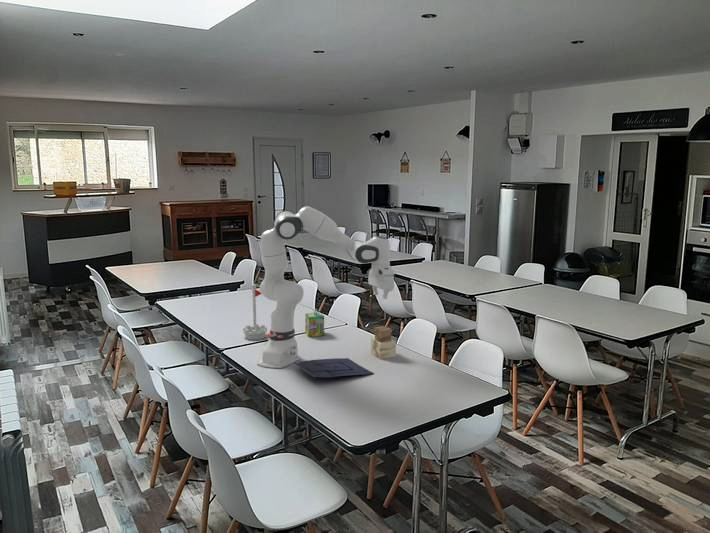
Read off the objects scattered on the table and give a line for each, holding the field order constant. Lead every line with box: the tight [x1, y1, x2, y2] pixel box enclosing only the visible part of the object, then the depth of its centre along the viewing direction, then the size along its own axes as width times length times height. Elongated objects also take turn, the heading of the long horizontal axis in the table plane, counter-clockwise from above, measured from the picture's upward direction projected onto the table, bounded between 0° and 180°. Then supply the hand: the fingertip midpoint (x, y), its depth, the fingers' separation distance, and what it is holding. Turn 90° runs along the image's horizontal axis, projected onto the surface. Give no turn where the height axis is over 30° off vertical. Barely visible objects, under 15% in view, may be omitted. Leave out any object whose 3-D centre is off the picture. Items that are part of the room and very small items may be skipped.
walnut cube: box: [374, 325, 392, 343], centre depth 262 cm, size 6×6×6 cm
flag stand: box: [242, 283, 268, 340], centre depth 292 cm, size 13×13×30 cm
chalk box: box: [304, 308, 325, 338], centre depth 297 cm, size 9×9×15 cm
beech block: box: [370, 337, 397, 360], centre depth 264 cm, size 9×9×8 cm
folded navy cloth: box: [293, 357, 375, 378], centre depth 241 cm, size 24×30×4 cm
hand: (380, 296), depth 261 cm, fingers open, 8 cm apart
